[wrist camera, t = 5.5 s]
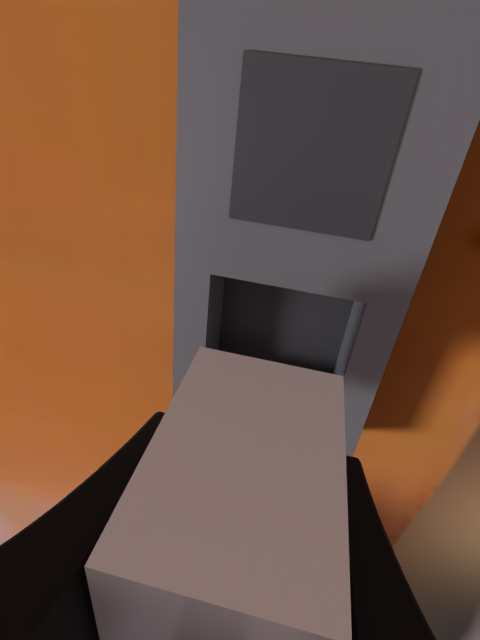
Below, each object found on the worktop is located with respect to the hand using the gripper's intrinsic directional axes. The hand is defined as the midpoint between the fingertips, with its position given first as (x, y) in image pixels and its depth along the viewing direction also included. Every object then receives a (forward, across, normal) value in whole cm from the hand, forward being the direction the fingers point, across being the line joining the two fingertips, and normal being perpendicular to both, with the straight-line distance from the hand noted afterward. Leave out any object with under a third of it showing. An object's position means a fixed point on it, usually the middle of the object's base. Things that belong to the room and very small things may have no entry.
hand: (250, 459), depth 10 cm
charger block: (+2, 0, 0) cm, 2 cm away
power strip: (+8, 0, -4) cm, 9 cm away
